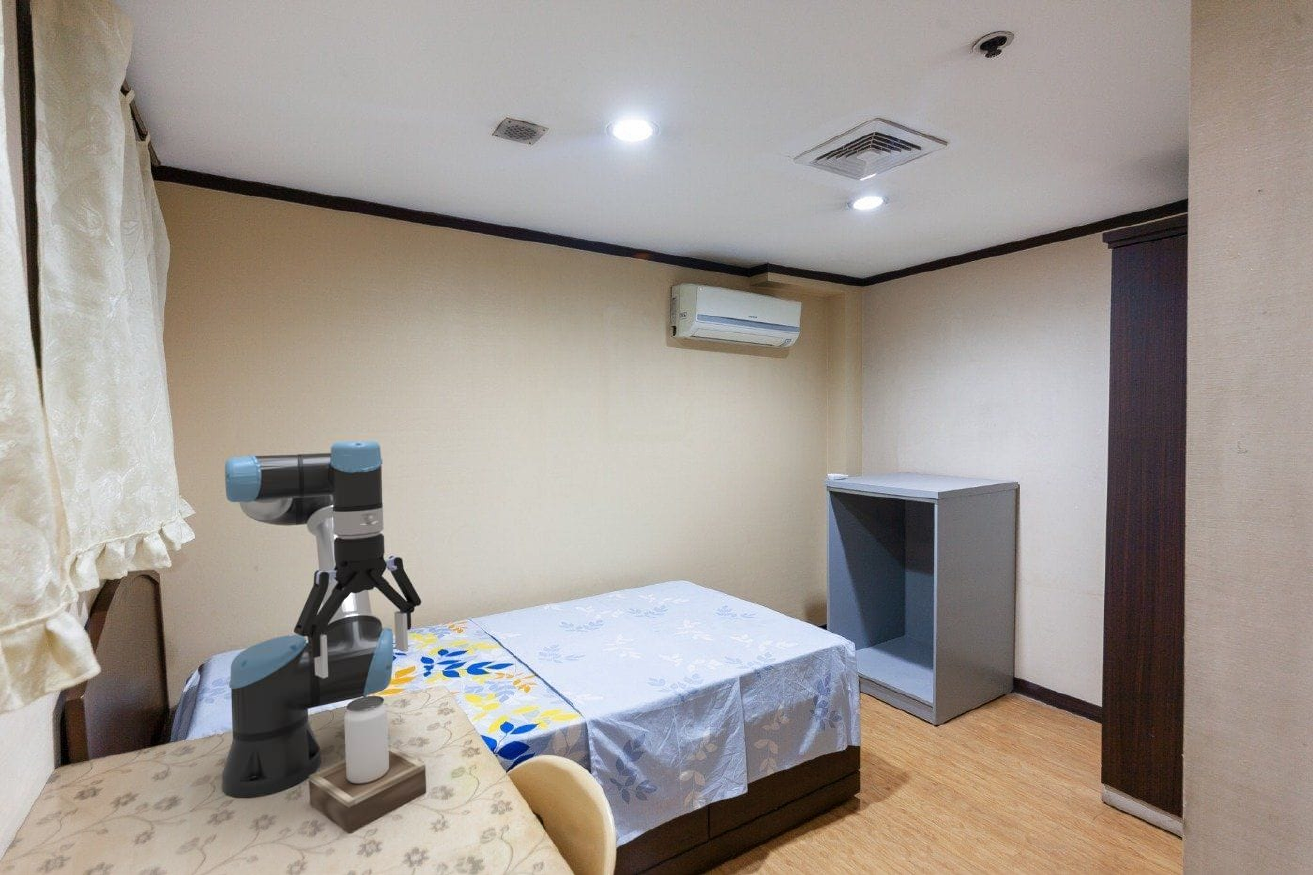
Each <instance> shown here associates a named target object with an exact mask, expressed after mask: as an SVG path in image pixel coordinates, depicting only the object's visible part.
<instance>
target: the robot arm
mask: <svg viewBox="0 0 1313 875" xmlns="http://www.w3.org/2000/svg"><path fill="white" fill-rule="evenodd" d="M382 464H383V459H382V452H381V446H380V443H379V442H377V441H374V440H371V441H370V440H367V441H364V440H361V441H338V442H334V443H333V444H332V445H331V447H330V452H324V453H323V452H321V453H319V452H318V453H317V452H316V453H300V454H278V455H252V454H250V455H249V454H248V455H245V456H237V457H230V458H228V459H226V461H225V465H224V482H225V483H224V484H225V486H224V487H225V496H226V499H227V501H229V502H231V503H239V507H240V508H241V510H242V512H243V513H244V514H245V515H246V516H247V517H249V518H250V519H253V520H254V521H257V522H260V523H263V524H268V525H274V526H283V527H284V526H300V525H306V527H307V530H308V532H309V533H310V534H311V535H313V536H315V540H316V549H317V559H318V570H315V571H314V575H313V585H312V588H311V590H310V593H309V594H308V597H307V598H306V602H305V603H304V605H303V608H302V611H300V612H301V613H300V615H299V617H298V620H297V622H296V624H295V626H294V629H293V632H294V633H295V634H293V635H283V636H278V637H274V638H270V639H267V640H264V641H261V642H259V643H256V644H254V645H251V646H249V647H248V648H245V649H243V650H242V651H241V652H239V653H238V654H236V656H235V657H234V658H233V659H232V662H231V664H230V681H229V684H228V685H229V686H228V688H229V689H230V690H231V691H230V693H231V696H230V697H231V727H232V728H231V729H232V741H231V744H230V748H229V751H228V754H227V756H226V757H227V758H226V760H225V763H224V767H223V770H222V774H221V781H222V782H221V783H222V785H221V786H222V787H221V788H222V791H223V792H224V793H225V794H226V795H228V796H231V797H236V798H251V797H259V796H266V795H269V794H273V793H274V794H275V793H277V792H281V791H284V790H285V789H288V788H290V787H294V786H296V785H298V784H299V783H301V782H303V781H305V780H306V779H307V778H308V779H309V775H311V774H314V773H316V772H317V770H318V769H319V768H320V766H321V762H322V758H321V757H322V756H321V748H320V745H319V743H318V741H317V738H316V736H315V734H314V732H313V729H312V727H311V724H310V722H309V709H313V708H317V707H322V706H326V705H332V704H336V703H340V702H344V701H350V700H355V699H358V698H362V697H366V696H371V695H374V694H377V693H380V692H384V691H385V690H386V689H387V688H388V687H389V686H390V684H391V680H392V673H393V660H394V659H393V658H394V647H395V650H397V651H400V652H403V653H405V652H408V651H409V640H408V639H409V638H408V637H409V634H408V631H409V630H411V628H412V613H414V611H415V610H416V609H415V608H416V607H419V606H421V604H422V600H421V598H420V596H419V594H418V593H417V591H416V588H415V587H414V585H413V584H412V582H411V580H410V578H409V576H408V574H407V573H406V571H405V569H404V560H403V558H402V557H400V556H394V555H391V556H390V557H388V558H387V559H385V557H384V556H385V535H383V533H381V532H383V530H384V510H383V509H384V508H383V504H384V503H383V480H382V479H383V478H382V475H383V474H382V471H383V470H382ZM386 570H388V571H389V572H390V573H391V575H392V577H393V579H394V580H395V583H396V584H397V586H398V588H399V589H400V592H402V594H403V596H402V595H401V594H400V593H399V592H398V591H397V590H396V589H395V588H394V587H393V586H391V584H390V582H389V581H388V580H387V579H386V578H385V577H384V576H383V575H384V573H385V571H386ZM374 588H375V589H377V590H378V591H379V592H380V593H381V594H382V595H383V596H384V597H385V598H387V600H388V601H390V602H391V603H392V604H393V605H394V606H395V607H396V608H397V609H398V610H397V611H394V613H393V615H394V616H393V617H394V634H393V629H392V628H389V627H383V625H382V624H383V623H382V621H381V619H380V618H379V617H378V616H376V615H373V612H372V606H371V600H370V593H369V591H373V590H374ZM321 606H322V607H321ZM305 637H307V639H306V638H305ZM394 637H395V638H394ZM394 640H395V644H394ZM394 645H395V646H394Z"/></svg>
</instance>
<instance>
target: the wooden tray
mask: <svg viewBox="0 0 1313 875" xmlns="http://www.w3.org/2000/svg"><path fill="white" fill-rule="evenodd" d="M388 748H389V769H388V771H387V772H386V774H385V775H384V776H383V777H382V778H380V779H378V780H376V781H373V782H370V783H366V784H353V783H351V782H350V781H349V780H348V779H347V775H346V759H343V760H341V761H339V762H336V763H334V764H332V765H330V766H328V767H325V768H322V769H320V770H318V771H315V772H314V773H313V774H311V775H309V777H308V781H309V782H308V785H309V805H311V806H312V807H313V808H314V809H316V810H317V811H319V812H320V813H321V814H322V815H324V816H325V817H326V818H328V820H331V821H332V822H333V823H335V824H336V825H337V826H339V828H341V829H343V830H344V831H345V832H347V833H348V834H352V833H354V832H355V831H357V830H359V829H361V828H363V827H365V826H366V825H368V824H370V823H372V822H374V821H376V820H379V819H381V817H383V816H385V815H387V814H389V813H391V812H392V811H395V810H396V809H399V808H400V807H402V806H403V805H406V804H408V803H410V802H412V801H413V800H415V799H417V798H419V797H420V796H423V795H425V794H427V778H426V776H427V775H426V772H427V771H426V764H425V763H423V762H421V761H419V760H418V759H416V758H414V757H412V756H410V755H409V754H406V753H405V752H403V751H401V750H399V749H397V748H395V747H393V746H392V745H389V744H388Z"/></svg>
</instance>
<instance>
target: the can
mask: <svg viewBox="0 0 1313 875" xmlns="http://www.w3.org/2000/svg"><path fill="white" fill-rule="evenodd" d="M343 717H344V747H345V748H344V749H345V760H346V775H347V779H348V780H349V781H350V782H351V783H353V784H366V783H370V782H373V781H376V780H378V779H380V778H382V777H383V776H384V775H385V774H386V772H387V771H388V769H389V748H388V745H389V730H388V729H389V728H388V726H389V725H388V722H389V721H388V709H387V705H386V703H385V699H384V697H383V696H379V695H367V696H366V697H359V698H355V699H352V701H350V702H349V703H348V704H347V705H346V711H345V714H344V716H343Z"/></svg>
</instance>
